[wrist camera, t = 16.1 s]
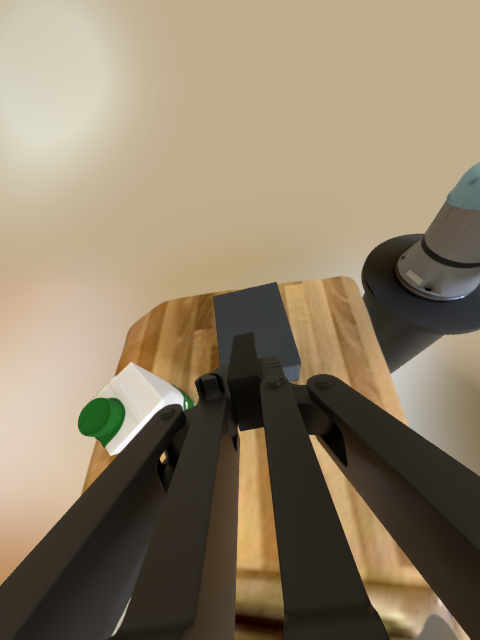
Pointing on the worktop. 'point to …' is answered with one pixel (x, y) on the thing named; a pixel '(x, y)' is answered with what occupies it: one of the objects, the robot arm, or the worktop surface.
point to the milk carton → (127, 406)
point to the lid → (255, 323)
